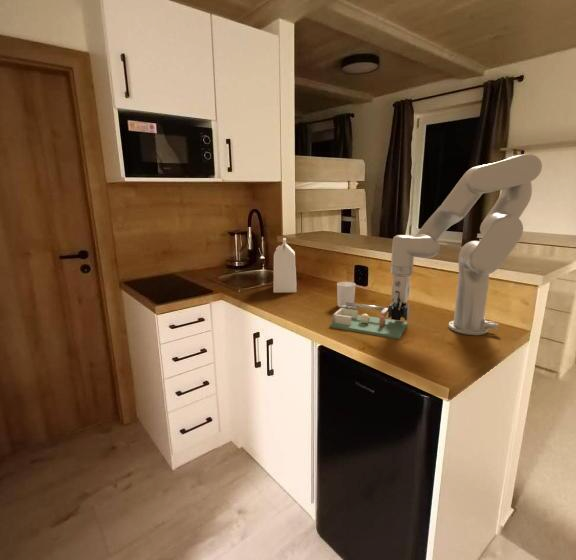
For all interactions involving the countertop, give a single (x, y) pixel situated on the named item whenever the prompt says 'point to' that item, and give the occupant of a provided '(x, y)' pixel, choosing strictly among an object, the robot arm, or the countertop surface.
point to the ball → (364, 318)
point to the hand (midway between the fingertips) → (398, 315)
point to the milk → (284, 269)
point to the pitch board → (373, 326)
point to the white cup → (345, 293)
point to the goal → (345, 316)
